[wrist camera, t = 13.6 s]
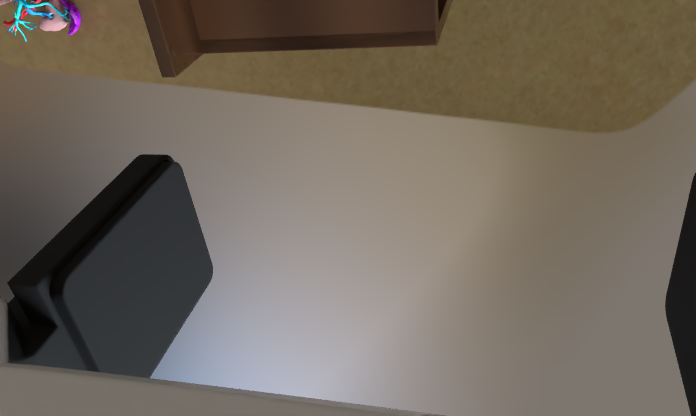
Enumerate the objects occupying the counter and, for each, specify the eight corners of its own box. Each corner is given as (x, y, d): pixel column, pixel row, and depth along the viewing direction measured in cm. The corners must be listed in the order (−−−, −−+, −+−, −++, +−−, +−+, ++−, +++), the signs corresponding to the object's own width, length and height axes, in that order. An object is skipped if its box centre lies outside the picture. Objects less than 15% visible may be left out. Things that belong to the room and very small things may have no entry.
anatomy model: (20, 75, 52) (56, 38, 48) (-55, -6, 49) (-23, -52, 45) (61, 50, 56) (98, 13, 52) (-6, -26, 53) (27, -71, 49)
